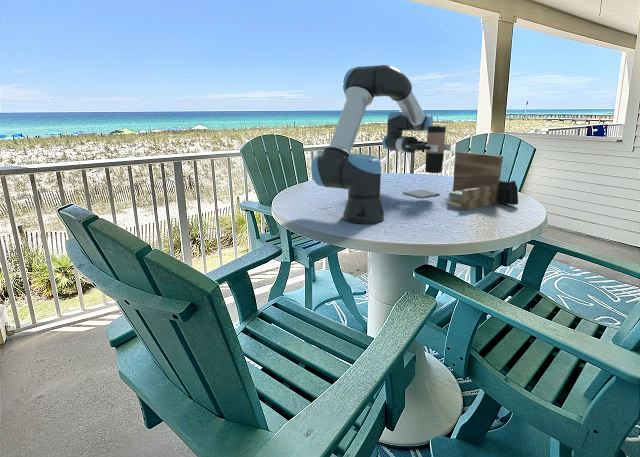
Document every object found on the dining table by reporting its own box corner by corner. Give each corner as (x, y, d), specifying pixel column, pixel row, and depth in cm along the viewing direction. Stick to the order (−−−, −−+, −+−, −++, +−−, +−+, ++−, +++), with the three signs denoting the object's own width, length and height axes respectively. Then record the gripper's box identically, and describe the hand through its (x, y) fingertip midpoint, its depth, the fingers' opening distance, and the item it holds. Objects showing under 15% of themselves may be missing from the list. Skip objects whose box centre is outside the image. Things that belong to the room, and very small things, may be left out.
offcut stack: (463, 210, 149) (465, 195, 147) (446, 206, 154) (448, 192, 153) (483, 203, 159) (485, 189, 157) (467, 200, 164) (468, 187, 162)
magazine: (525, 186, 146) (482, 156, 170) (518, 187, 145) (476, 156, 169) (511, 222, 155) (472, 189, 180) (504, 223, 155) (466, 189, 179)
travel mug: (424, 172, 166) (427, 126, 160) (425, 170, 173) (428, 126, 167) (442, 173, 164) (446, 126, 157) (442, 170, 170) (446, 126, 164)
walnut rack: (463, 210, 147) (469, 159, 141) (422, 200, 165) (426, 154, 159) (496, 203, 157) (502, 156, 151) (454, 194, 175) (458, 151, 169)
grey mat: (421, 198, 168) (421, 196, 168) (402, 193, 178) (403, 192, 178) (439, 195, 174) (439, 193, 174) (421, 190, 184) (421, 189, 184)
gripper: (422, 150, 186) (458, 155, 167) (390, 153, 176) (426, 158, 157) (423, 135, 183) (460, 138, 164) (391, 137, 174) (427, 140, 155)
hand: (443, 148), depth 161 cm, fingers closed on travel mug, 7 cm apart
